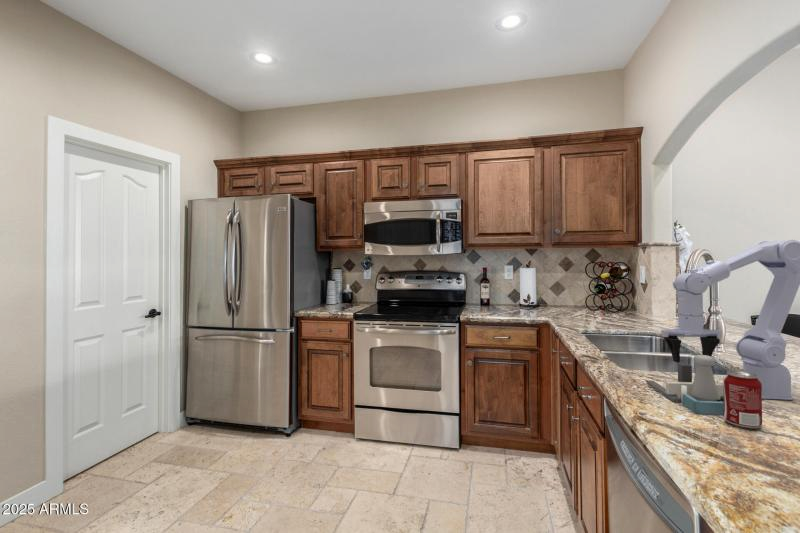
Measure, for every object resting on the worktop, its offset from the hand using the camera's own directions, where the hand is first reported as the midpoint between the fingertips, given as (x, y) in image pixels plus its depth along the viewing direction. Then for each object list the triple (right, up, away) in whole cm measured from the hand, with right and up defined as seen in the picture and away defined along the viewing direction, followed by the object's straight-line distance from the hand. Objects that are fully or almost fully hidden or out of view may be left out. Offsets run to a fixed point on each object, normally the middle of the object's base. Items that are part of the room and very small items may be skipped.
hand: (691, 362), depth 111 cm
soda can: (-3, -10, -20) cm, 23 cm away
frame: (-3, -10, -11) cm, 15 cm away
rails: (0, -9, +1) cm, 9 cm away
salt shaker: (-2, -10, -7) cm, 12 cm away
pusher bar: (0, -9, 0) cm, 9 cm away
